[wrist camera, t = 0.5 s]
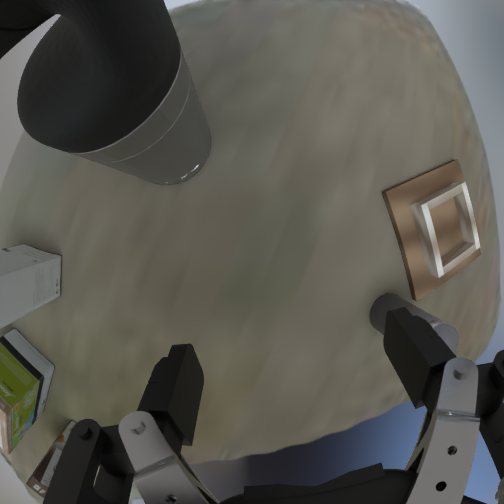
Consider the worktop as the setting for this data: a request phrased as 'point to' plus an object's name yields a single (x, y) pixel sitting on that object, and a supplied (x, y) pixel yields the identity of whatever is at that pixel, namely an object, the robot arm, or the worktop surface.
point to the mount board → (433, 226)
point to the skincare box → (26, 281)
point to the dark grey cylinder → (393, 302)
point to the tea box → (21, 387)
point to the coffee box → (49, 463)
